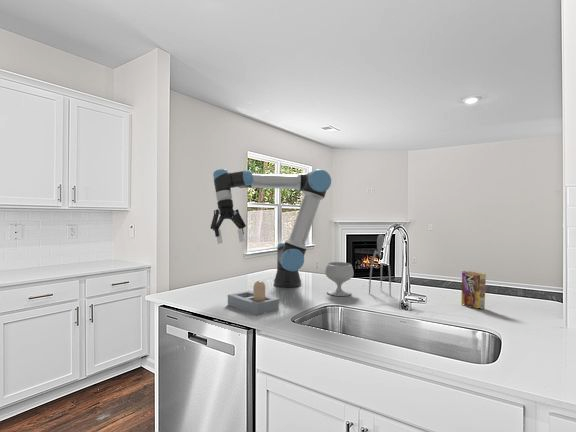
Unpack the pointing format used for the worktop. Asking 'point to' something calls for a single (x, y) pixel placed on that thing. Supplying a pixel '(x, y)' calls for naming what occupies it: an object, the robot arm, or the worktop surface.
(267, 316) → the worktop surface
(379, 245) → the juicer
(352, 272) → the chalice
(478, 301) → the candy box
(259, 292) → the peach dome-topped cylinder
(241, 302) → the divided tray
